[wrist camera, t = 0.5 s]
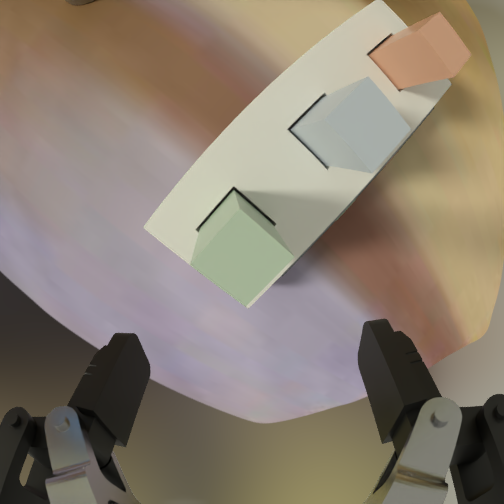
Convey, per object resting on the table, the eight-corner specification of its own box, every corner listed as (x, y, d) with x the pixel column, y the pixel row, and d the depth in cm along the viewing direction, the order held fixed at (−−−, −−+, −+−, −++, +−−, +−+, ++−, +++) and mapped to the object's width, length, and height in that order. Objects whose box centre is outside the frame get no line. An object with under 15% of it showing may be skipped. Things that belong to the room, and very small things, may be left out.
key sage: (237, 257, 29) (245, 306, 20) (200, 226, 28) (189, 265, 19) (270, 221, 29) (294, 257, 19) (233, 189, 27) (239, 208, 18)
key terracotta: (394, 90, 25) (453, 77, 15) (365, 57, 23) (418, 30, 14) (414, 69, 24) (471, 54, 14) (388, 37, 22) (439, 11, 13)
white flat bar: (248, 287, 36) (253, 312, 31) (156, 214, 32) (143, 227, 26) (427, 93, 29) (454, 89, 24) (358, 14, 25) (379, -3, 19)
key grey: (324, 165, 27) (372, 173, 18) (288, 130, 26) (324, 119, 16) (354, 133, 26) (410, 129, 17) (321, 98, 25) (368, 76, 15)
